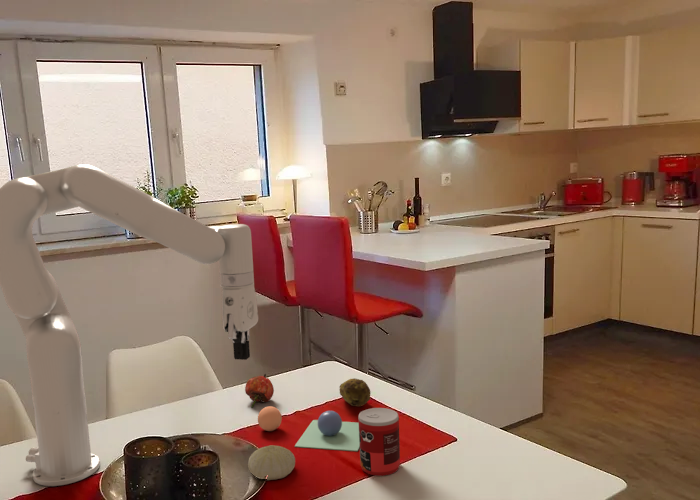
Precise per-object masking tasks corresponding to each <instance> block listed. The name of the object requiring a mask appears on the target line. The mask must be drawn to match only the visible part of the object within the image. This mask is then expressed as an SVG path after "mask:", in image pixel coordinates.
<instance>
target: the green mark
mask: <svg viewBox="0 0 700 500" xmlns="http://www.w3.org/2000/svg"><path fill="white" fill-rule="evenodd" d="M294 448H305V449H306V448H308V449H320V450H334V451H347V452H358V451H359V450H360V444H359V422H356V421H355V422H354V421H352V422H351V421H342V427H341V429H340V431H339V432H338V433H337V434H336V435H333V436H326V435H324V434H322V433H321V432H320V430H319V428H318V419H313V420H312V421H311V422H310V423H309V425H308V426H307V428H306V429H305V431H304V432H303V434H302V435H301V436H300V438H299V439H298V440H297V442H296V443H295V445H294Z"/></svg>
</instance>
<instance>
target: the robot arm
mask: <svg viewBox="0 0 700 500" xmlns="http://www.w3.org/2000/svg"><path fill="white" fill-rule="evenodd" d="M78 207H79V208H81V209H83V210H85V211H87V212H89V213H91V214H94V215H96V216H98V217H99V218H102V219H103V220H106V221H108V222H109V223H112V224H113V225H116V226H118V227H121V228H122V229H124V230H126V231H128V232H131V233H132V234H135V235H136V236H139V237H141V238H144V239H147V240H150V241H153V242H155V243H158V244H160V245H163V246H164V247H165V248H166V247H167V248H168V249H171V250H173V251H175V252H177V253H179V254H181V255H183V256H184V257H187V258H189V259H191V260H193V261H195V262H196V263H199V264H202V265H213V264H215V263H216V262H218V270H219V287H220V289H221V290H222V291H221V317H222V318H221V319H222V321H221V322H222V328H223V330H224V332H226V333H227V338H228V339H229V340H231V342H232V344H233V346H232V347H233V348H232V349H233V359H235V360H240V361H241V360H243V361H246V360H247V359H249V358H251V354H250V353H251V351H250V350H251V349H250V330H251V328H253V327H255V326H256V325H257V323H258V322H259V313H258V310H259V309H258V301H257V295H256V294H257V293H256V288H255V278H254V277H255V276H254V275H255V274H254V261H253V258H254V257H253V243H252V230H251V228H250V226H249V225H248V224H245V223H230V224H224V225H220V226H208V225H206V224H203V223H202V222H200V221H198V220H196V219H194V218H192V217H190V216H188V215H186V214H184V213H183V212H181V211H178V210H177V209H175V208H172V207H171V206H169V205H167V204H166V203H164V202H163V201H161V200H159V199H158V198H156V197H154V196H152V195H150V194H148V193H146V192H144V191H142V190H140V189H139V188H137V187H135V186H133V185H131V184H129V183H127V182H125V181H123V180H121V179H119V178H117V177H115V176H113V175H112V174H110V173H107V172H106V171H105V170H102V169H100V168H98V167H96V166H93V165H90V164H87V163H85V164H76V165H72V166H69V167H65V168H61V169H56V170H52V171H48V172H42V173H38V174H33V175H28V176H23V177H22V176H21V177H17V178H14V179H10V180H8V181H7V182H6V183H4V184H3V185H2V186H1V187H0V289H1V292H2V293H3V297H4V301H5V304H6V305H7V307H8V308H9V310H10V311H11V312H12V313H13V314H14V315H15V317H16V320H17V321H18V325H19V326H20V328H21V331H22V332H23V334H24V335H23V336H24V338H25V339H26V343H25V345H26V347H25V348H26V358H27V366H28V374H29V379H30V387H31V388H30V390H31V398H32V404H33V412H34V413H33V414H34V421H35V430H36V431H35V432H36V438H37V447H30V449H29V451H28V454H27V455H26V456H25V462H27V463H35V468H34V470H33V472H32V478H33V481H34V482H35V483H36V484H37V485H40V486H45V487H57V486H58V487H60V486H64V485H65V486H66V485H69V484H72V483H73V484H74V483H76V482H79V481H82V480H84V479H86V478H89V477H90V476H91V475H93V474H94V473H96V472H97V470H99V467H101V466H100V465H101V459H100V457H99V456H98V455H97V454H94V453H92V450H91V442H90V441H91V439H90V430H89V422H88V421H89V420H88V410H87V401H86V394H85V393H86V392H85V384H84V375H83V373H84V372H83V356H82V355H83V354H82V344H81V338H80V336H79V334H78V331H77V327H76V326H75V323H74V321H73V319H72V317H71V314H70V312H69V310H68V308H67V304H65V303H66V302H65V300H64V297H63V296H62V294H61V291H60V289H59V287H58V284H57V281H56V279H55V277H54V276H53V275H52V273H50V271H48V269H47V268H46V265H45V263H44V261H43V258H42V256H41V254H40V253H41V252H40V250H39V248H38V246H37V243H36V241H35V239H34V238H35V237H34V235H33V225H34V223H35V222H36V221H37V220H38V219H39V218H41V217H43V216H46V215H51V214H54V213H58V212H63V211H67V210H71V209H74V208H78Z"/></svg>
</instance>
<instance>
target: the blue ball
mask: <svg viewBox="0 0 700 500" xmlns="http://www.w3.org/2000/svg"><path fill="white" fill-rule="evenodd" d="M317 420H318V428H319V430H320V432H321V433H322V434H324V435H326V436H333V435H336V434H337V433H338V432H339V431H340V429H341V427H342V422H343V420H342V417H341V416H340V414H339V413H338V412H337V411H334V410H326V411H324V412H322V413H321V414H320V415H319V417H318V419H317Z"/></svg>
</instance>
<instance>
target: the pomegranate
mask: <svg viewBox="0 0 700 500" xmlns="http://www.w3.org/2000/svg"><path fill="white" fill-rule="evenodd" d="M266 375H267V374H266V373H264V374H263V375H257V376H254V377H251V378H249V379H248V380H247V382H246V383H245V389H244V391H245V395H247V396H248V398H249V399H250V400H251V401H253V403H252V404H251V406H250V408H251V409H253V407H254V406H255V404H256V402H258V403H259V402H262V403H268V402H269V401H271V399H272V398H273V396H274V392H275V390H274V385H273V382H272V381H271V380H270V379H269V378H267V377H266Z"/></svg>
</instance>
